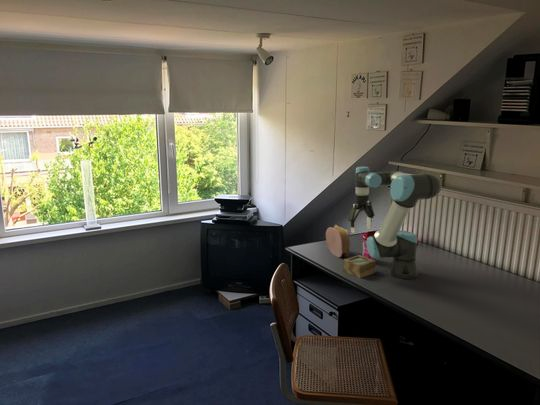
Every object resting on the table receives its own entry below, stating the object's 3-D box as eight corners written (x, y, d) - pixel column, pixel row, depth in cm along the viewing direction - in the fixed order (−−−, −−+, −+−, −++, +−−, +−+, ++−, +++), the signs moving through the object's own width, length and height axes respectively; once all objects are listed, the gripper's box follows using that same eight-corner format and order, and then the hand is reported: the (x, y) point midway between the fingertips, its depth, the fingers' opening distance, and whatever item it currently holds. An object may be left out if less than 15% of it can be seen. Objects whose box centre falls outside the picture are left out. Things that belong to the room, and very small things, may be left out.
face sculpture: (351, 258, 260) (352, 231, 257) (341, 260, 258) (342, 232, 254) (332, 248, 278) (333, 223, 274) (323, 250, 275) (323, 224, 271)
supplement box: (361, 260, 257) (362, 241, 254) (370, 259, 259) (371, 240, 257) (367, 263, 252) (368, 244, 249) (376, 262, 254) (377, 243, 251)
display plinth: (375, 272, 238) (375, 260, 237) (359, 278, 231) (360, 265, 230) (358, 266, 248) (359, 255, 246) (343, 271, 241) (343, 259, 239)
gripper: (370, 190, 259) (369, 225, 264) (342, 196, 244) (341, 233, 248) (381, 192, 254) (380, 228, 258) (352, 197, 238) (351, 235, 243)
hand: (361, 230), depth 253 cm, fingers open, 13 cm apart
